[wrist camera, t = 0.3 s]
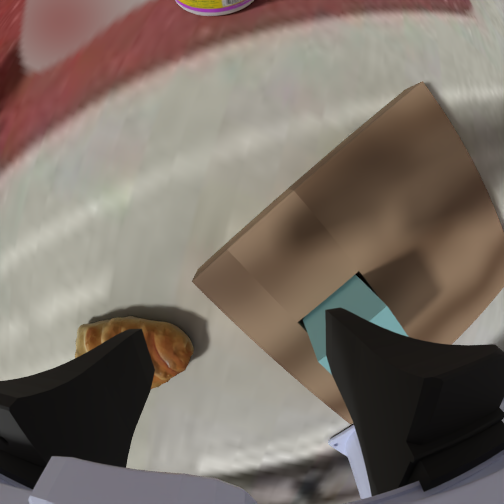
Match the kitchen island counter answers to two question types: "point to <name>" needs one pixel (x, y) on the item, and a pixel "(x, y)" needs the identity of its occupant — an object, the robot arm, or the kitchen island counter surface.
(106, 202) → the kitchen island counter surface
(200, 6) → the supplement bottle
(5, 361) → the kitchen island counter surface
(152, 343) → the pastry
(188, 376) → the kitchen island counter surface
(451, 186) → the walnut pocket plate
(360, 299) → the teal block
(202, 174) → the kitchen island counter surface
